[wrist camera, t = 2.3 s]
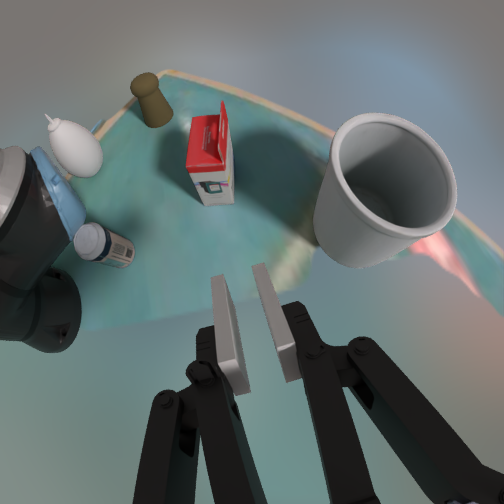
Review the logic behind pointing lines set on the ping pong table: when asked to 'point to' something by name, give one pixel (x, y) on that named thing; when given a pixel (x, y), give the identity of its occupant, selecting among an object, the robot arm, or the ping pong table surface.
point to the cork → (151, 100)
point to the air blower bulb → (75, 147)
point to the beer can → (103, 246)
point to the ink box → (211, 158)
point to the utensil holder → (381, 190)
